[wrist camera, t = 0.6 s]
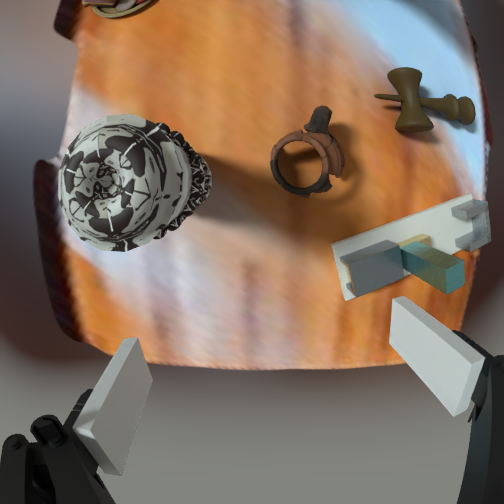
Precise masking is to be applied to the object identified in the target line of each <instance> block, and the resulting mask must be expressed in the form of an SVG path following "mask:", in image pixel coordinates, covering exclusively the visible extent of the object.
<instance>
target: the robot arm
mask: <svg viewBox="0 0 504 504" xmlns="http://www.w3.org/2000/svg"><path fill="white" fill-rule="evenodd" d="M389 344H390V345H391V346H392V347H393V348H394V349H395V350H396V351H397V352H398V354H399V355H400V356H401V357H402V358H403V359H404V360H405V361H406V362H407V364H408V365H409V366H410V367H411V368H412V369H413V370H414V371H415V373H416V374H417V375H418V376H419V377H420V378H421V379H422V380H423V382H424V383H425V384H426V385H427V386H428V387H429V389H430V390H431V391H432V392H433V393H434V394H435V396H436V397H437V398H438V399H439V400H440V401H441V402H442V404H443V405H444V406H445V407H446V408H447V410H448V411H449V412H450V413H451V414H452V415H453V417H454V416H456V415H458V414H460V413H462V412H463V411H465V410H467V408H468V405H469V402H470V400H472V401H473V402H474V403H475V406H474V408H473V410H472V413H471V415H470V417H469V420H468V422H470V421H471V419H472V425H471V434H470V442H469V449H468V455H467V461H466V466H465V471H464V476H463V481H462V485H461V490H460V493H459V497H458V501H457V504H504V355H498V356H495V357H493V356H492V355H491V354H489V353H488V352H487V351H486V350H484V349H483V348H482V347H480V346H479V345H478V344H475V342H474V341H473V340H470V338H469V337H467V336H466V335H464V334H463V333H461V332H458V331H456V330H452V331H451V330H449V329H448V328H447V327H446V326H444V325H443V324H442V323H440V322H439V321H438V320H436V319H435V318H434V317H432V316H431V315H430V314H428V313H427V312H426V311H424V310H423V309H422V308H420V307H419V306H417V305H416V304H415V303H413V302H412V301H411V300H409V299H408V298H406V297H405V296H402V297H398V298H394V299H392V315H391V328H390V339H389ZM152 381H153V380H152V377H151V374H150V371H149V369H148V366H147V363H146V360H145V357H144V354H143V351H142V348H141V345H140V342H139V339H138V337H137V338H124V340H123V342H122V343H121V345H120V346H119V348H118V350H117V351H116V353H115V355H114V356H113V358H112V360H111V361H110V363H109V364H108V366H107V368H106V369H105V371H104V373H103V375H102V376H101V378H100V380H99V381H98V383H97V385H96V386H95V388H94V389H88V390H87V391H86V392H85V393H83V394H82V395H81V396H80V398H79V399H78V401H77V403H76V405H75V406H74V408H73V411H71V413H70V414H69V416H68V418H67V420H66V421H65V423H64V425H63V426H62V424H61V423H60V421H59V420H58V418H57V417H56V416H54V415H44V416H41V417H39V418H37V419H36V420H35V421H34V422H33V423H32V425H31V429H30V431H31V433H32V434H33V435H34V437H35V438H36V440H37V441H38V442H34V443H29V442H28V440H27V439H26V438H25V436H24V435H22V434H14V435H11V436H9V437H8V438H7V439H6V440H5V441H4V444H3V448H2V455H1V461H0V504H116V503H115V502H114V500H113V498H112V497H111V495H110V493H109V492H108V490H107V488H106V487H105V485H104V483H103V481H102V480H101V478H100V476H99V475H98V474H97V473H96V471H97V468H98V466H100V468H101V469H102V470H103V471H104V473H106V474H113V475H120V476H122V473H123V470H124V467H125V463H126V460H127V457H128V454H129V450H130V447H131V444H132V441H133V438H134V435H135V432H136V429H137V425H138V422H139V419H140V416H141V413H142V410H143V407H144V405H145V402H146V399H147V396H148V393H149V390H150V387H151V384H152Z"/></svg>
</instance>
